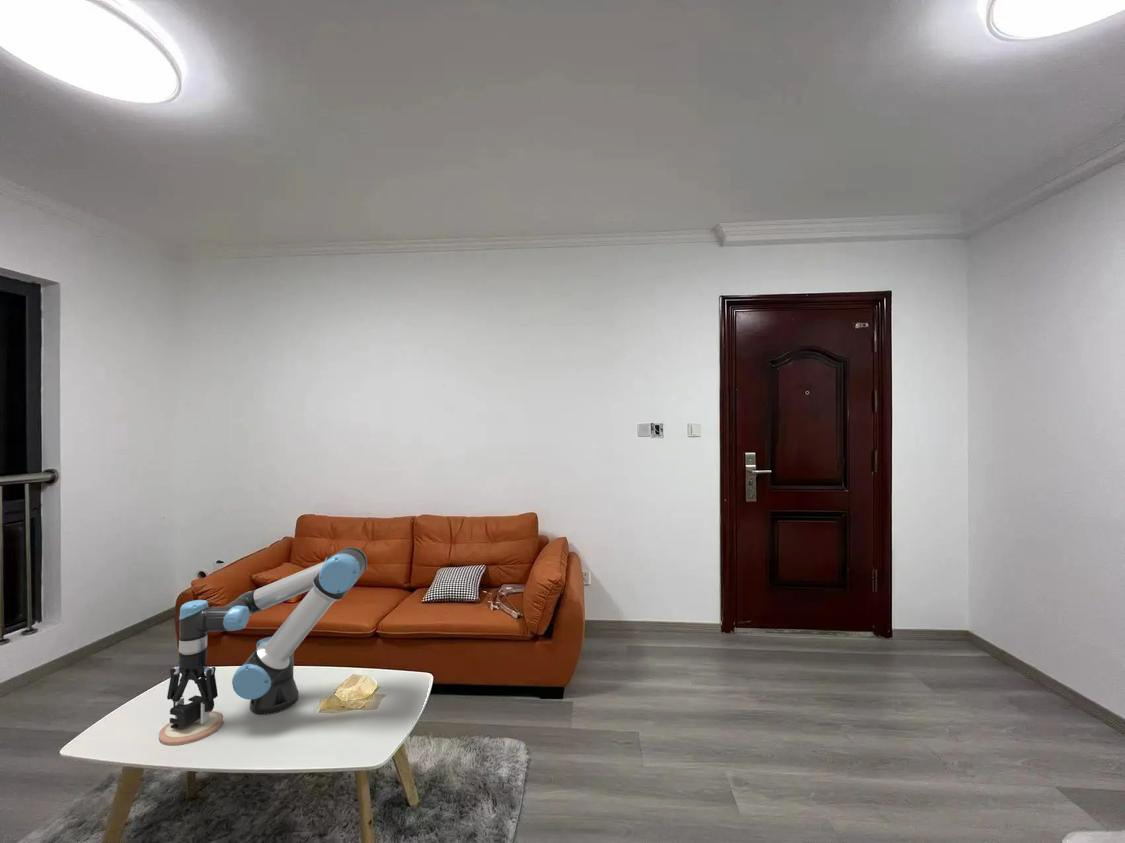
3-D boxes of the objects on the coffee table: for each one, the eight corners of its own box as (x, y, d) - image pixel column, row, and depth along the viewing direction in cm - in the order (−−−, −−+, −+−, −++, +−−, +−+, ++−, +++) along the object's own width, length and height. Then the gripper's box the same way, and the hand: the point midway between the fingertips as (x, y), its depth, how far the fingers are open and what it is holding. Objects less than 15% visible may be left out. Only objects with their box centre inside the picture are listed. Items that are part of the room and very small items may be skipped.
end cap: (185, 732, 162) (185, 710, 162) (168, 728, 163) (168, 707, 164) (214, 715, 171) (214, 695, 171) (198, 712, 173) (198, 691, 173)
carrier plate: (235, 716, 175) (235, 710, 175) (197, 746, 158) (197, 740, 158) (187, 714, 176) (187, 709, 176) (144, 744, 159) (144, 739, 159)
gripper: (231, 646, 171) (230, 715, 171) (172, 644, 172) (171, 713, 172) (215, 655, 164) (214, 728, 163) (153, 654, 165) (151, 726, 164)
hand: (192, 720), depth 167 cm, fingers closed on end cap, 8 cm apart
